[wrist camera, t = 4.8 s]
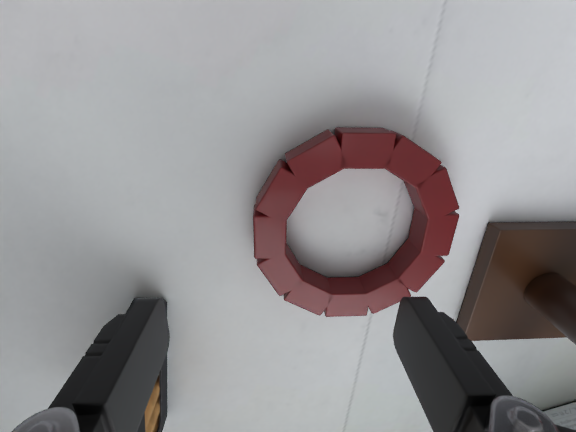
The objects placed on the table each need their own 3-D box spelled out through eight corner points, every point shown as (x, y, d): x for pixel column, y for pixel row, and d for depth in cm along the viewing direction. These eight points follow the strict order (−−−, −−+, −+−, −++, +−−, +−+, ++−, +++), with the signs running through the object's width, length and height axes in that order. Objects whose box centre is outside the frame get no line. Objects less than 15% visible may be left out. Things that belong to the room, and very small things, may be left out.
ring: (256, 300, 19) (255, 319, 17) (252, 126, 14) (250, 131, 13) (420, 296, 19) (432, 313, 18) (461, 128, 15) (482, 134, 14)
